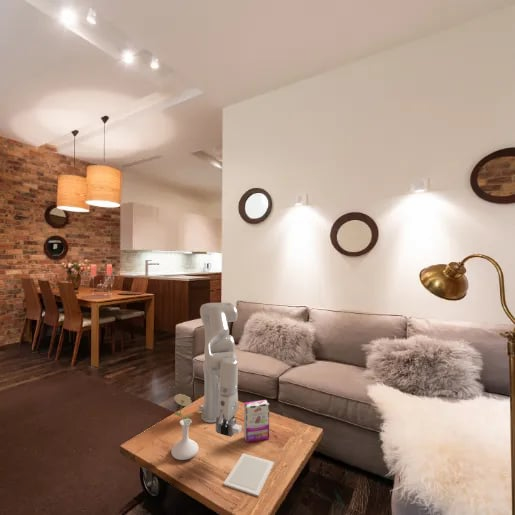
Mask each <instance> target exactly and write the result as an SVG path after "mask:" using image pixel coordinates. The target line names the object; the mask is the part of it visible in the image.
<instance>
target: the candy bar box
mask: <svg viewBox="0 0 515 515" xmlns="http://www.w3.org/2000/svg"><path fill="white" fill-rule="evenodd" d="M243 404H244V419H243V420H244V422H243V423H244V427H243V428H244V432H243V433H244V439H245V442H246V443H248V444H249V443H252V442H258V441H265V440H269V439H270V403H269V402H268V400H267V399H261V400H260V399H259V400H254V401H249V402H248V401H246V402H244V403H243Z"/></svg>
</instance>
